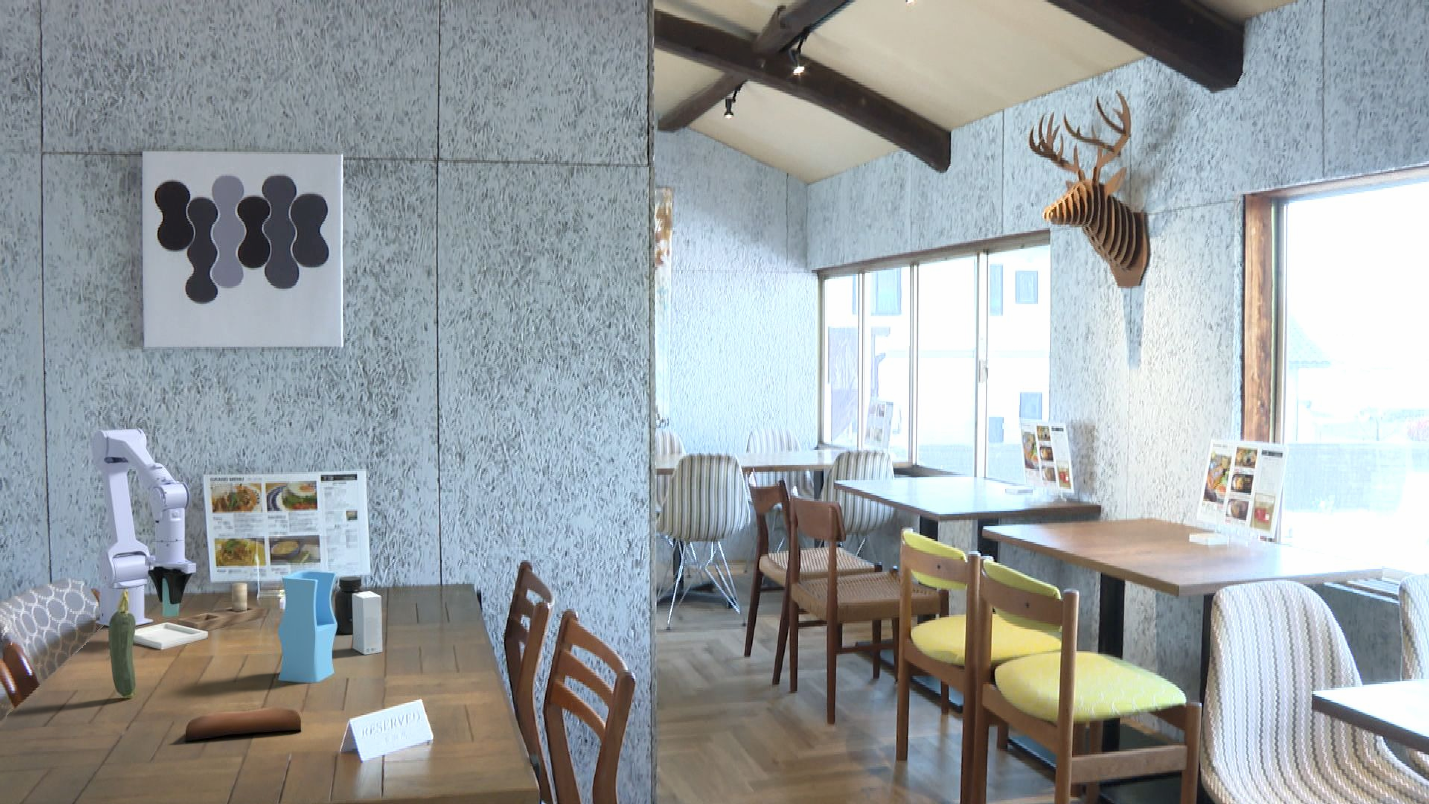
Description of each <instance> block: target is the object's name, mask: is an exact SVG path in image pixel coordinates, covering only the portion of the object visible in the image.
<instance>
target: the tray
mask: <svg viewBox="0 0 1429 804" xmlns="http://www.w3.org/2000/svg"><path fill="white" fill-rule="evenodd" d="M208 638H209V632H208V630H207V631H202V630H198V629H194V628H189V627H185V626H181V625H178V624H176V623H172V622H168V621H167V622H163V623H158V624H154V625H149V626H145V627H140V628H137V629H136V628H135V635H134V640H133V644H138V645H142V646H146V647H150V648H154V649H157V650H160V651H161V650H166V649H171V648H173V647H174V648H175V647H178V646H182V645H186V644H190V643H194V642H197V641H203V640H206V639H208Z"/></svg>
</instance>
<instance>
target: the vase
mask: <svg viewBox="0 0 1429 804" xmlns="http://www.w3.org/2000/svg"><path fill="white" fill-rule="evenodd" d="M337 574H338V573H337V572H335V571H322V570H320V571H319V570H308V569H307V570H305V569H304V570H303V569H302V570H297V571H295V572H291V573H289V574H286V575H283V576H282V577H281V580H282V585H283V589H284V595H285V596H284V597H285V598H284V599H285V603H284V604H285V605H284V612H283V616H282V618H281V622H280V624H279V627H278V630H277V631H278V632H277V635H278V639H279V642H280V643H279V644H280V647H281V652H282V653H281V654H282V655H281V656H282V659H281V660H282V661H281V668H280V672H279V675H278V679H277V680H278V681H283V682H295V683H305V684H315V683H319V682H321V681H323V680H325V679H326V678H328V677H331V676H332V675H334V674H335V670H334V665H333V645H334V641H335V637H336V634H337V633H336V630H337V621H336V619H335V616H334V609H333V605H332V593H333V592H332V591H333V586H334V585H335V584H334V583H335V580H336V577H337Z"/></svg>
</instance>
